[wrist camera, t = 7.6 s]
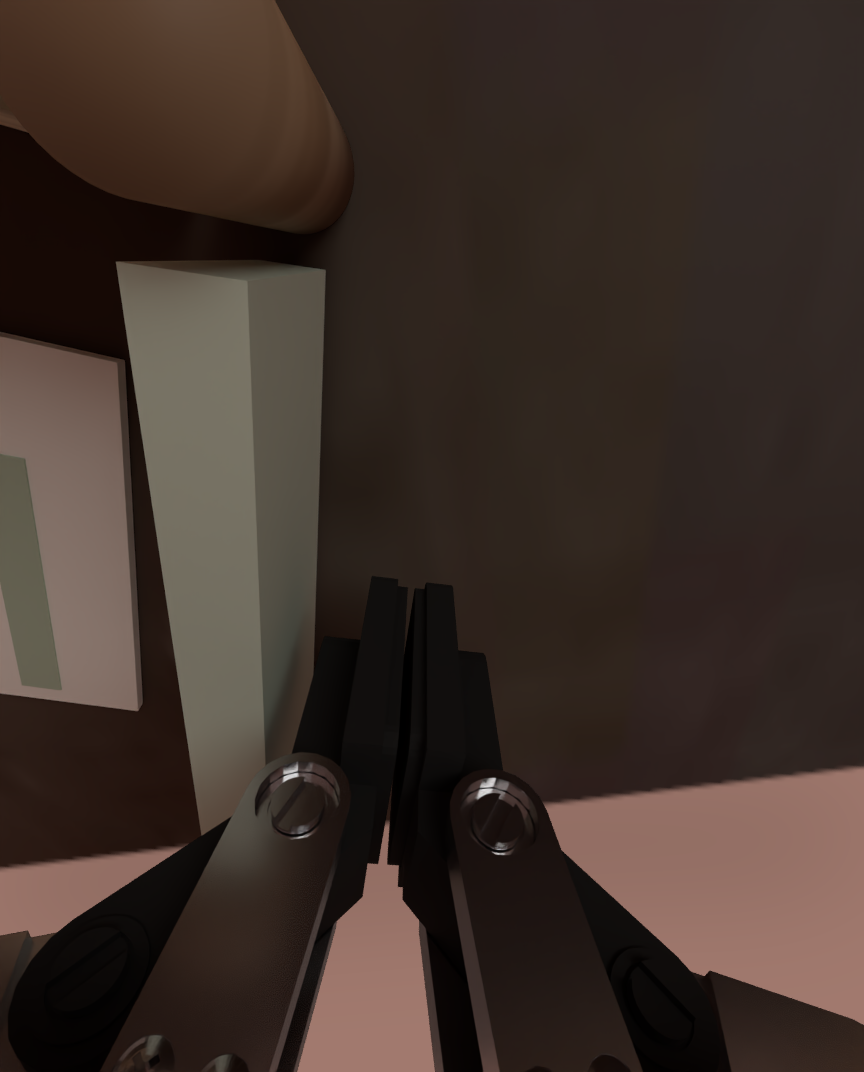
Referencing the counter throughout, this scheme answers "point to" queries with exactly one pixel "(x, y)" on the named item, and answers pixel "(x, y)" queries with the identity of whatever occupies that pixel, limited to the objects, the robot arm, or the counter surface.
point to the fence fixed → (178, 106)
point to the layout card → (66, 528)
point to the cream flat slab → (232, 497)
